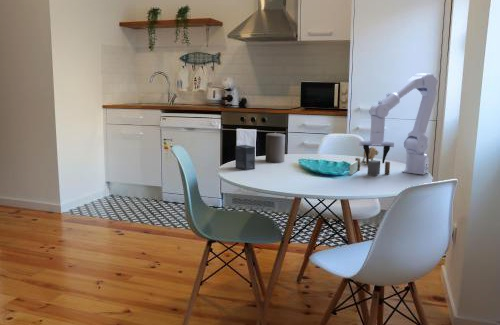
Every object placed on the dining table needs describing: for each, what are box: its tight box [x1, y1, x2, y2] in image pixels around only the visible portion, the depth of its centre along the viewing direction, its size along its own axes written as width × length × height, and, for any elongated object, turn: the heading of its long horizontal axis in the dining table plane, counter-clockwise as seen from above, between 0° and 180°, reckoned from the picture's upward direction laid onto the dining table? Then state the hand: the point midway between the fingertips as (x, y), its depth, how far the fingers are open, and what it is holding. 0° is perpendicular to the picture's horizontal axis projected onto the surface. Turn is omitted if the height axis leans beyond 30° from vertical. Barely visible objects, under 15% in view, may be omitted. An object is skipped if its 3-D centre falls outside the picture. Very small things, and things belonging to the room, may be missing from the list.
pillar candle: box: [265, 131, 286, 164], centre depth 236 cm, size 10×10×15 cm
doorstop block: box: [366, 159, 381, 177], centre depth 207 cm, size 4×5×6 cm
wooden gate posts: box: [354, 157, 391, 175], centre depth 212 cm, size 16×2×6 cm, turn 54°
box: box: [235, 144, 256, 171], centre depth 218 cm, size 8×6×11 cm
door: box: [347, 160, 358, 175], centre depth 211 cm, size 10×2×4 cm, turn 154°
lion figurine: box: [361, 146, 379, 166], centre depth 234 cm, size 15×5×9 cm, turn 9°
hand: (375, 162), depth 207 cm, fingers open, 6 cm apart
